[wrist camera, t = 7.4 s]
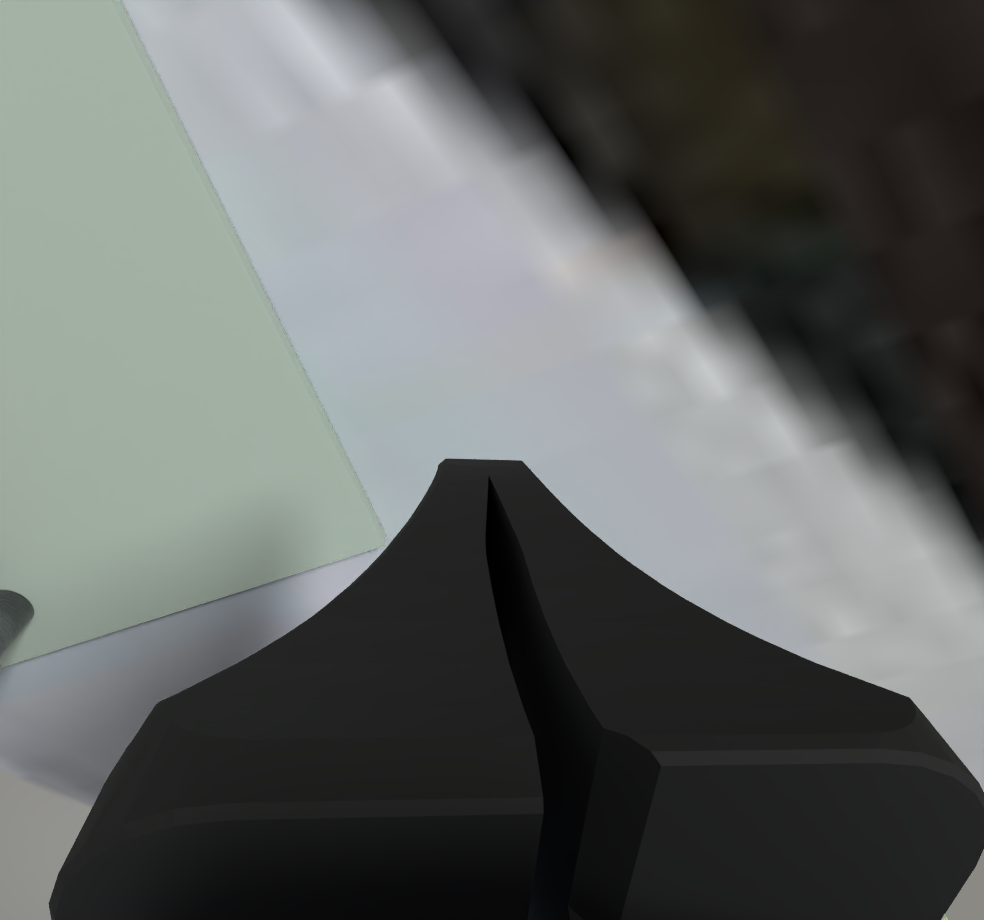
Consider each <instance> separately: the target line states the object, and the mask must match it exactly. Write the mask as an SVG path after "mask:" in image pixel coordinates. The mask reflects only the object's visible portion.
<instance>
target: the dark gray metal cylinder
mask: <svg viewBox="0 0 984 920" xmlns="http://www.w3.org/2000/svg"><path fill="white" fill-rule="evenodd" d="M33 617H34V608H33V606H32V604H31V603H30V601H29V600H28V599H27V598H25V597H24V596H23V595H21V594H19V593H17V592H14V591H10V590H0V658H1V656H2V655H3V654H4V653H5V652H6V650H7V649H8V648H9V647H10V646H11V644H12V643H13V642H14V641H15V639H16V638H17V637H18V636H19V635H20V633H21V632H22V631H23V630H24V629H25V627H26V626H27V625H28V624H29V623H30V621H31V620H32V619H33Z"/></svg>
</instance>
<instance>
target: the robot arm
mask: <svg viewBox="0 0 984 920" xmlns="http://www.w3.org/2000/svg"><path fill="white" fill-rule="evenodd" d="M983 849H984V792H983V790H982V788H981V786H980V784H979V782H978V781H977V780H976V779H975V777H974V776H973V775H972V774H971V772H970V771H969V770H968V769H967V767H966V766H965V765H964V764H963V763H962V761H961V760H960V759H959V758H958V756H957V755H956V754H955V753H954V751H953V750H952V749H951V748H950V746H949V745H948V744H947V743H946V741H945V740H944V739H943V738H942V737H941V735H940V734H939V733H938V732H937V730H936V729H935V728H934V727H933V725H932V724H931V723H930V722H929V720H928V719H927V718H926V717H925V716H924V714H923V713H922V712H921V711H920V710H919V708H918V707H917V706H916V705H915V704H914V702H913V701H912V700H911V699H910V698H909V697H906V696H904V695H901V694H898V693H895V692H893V691H890V690H887V689H885V688H882V687H879V686H876V685H874V684H871V683H868V682H866V681H863V680H860V679H858V678H855V677H852V676H849V675H847V674H844V673H841V672H839V671H836V670H833V669H831V668H828V667H825V666H822V665H820V664H817V663H814V662H812V661H810V660H807V659H805V658H802V657H800V656H798V655H796V654H793V653H791V652H789V651H787V650H785V649H782V648H780V647H778V646H776V645H773V644H771V643H769V642H767V641H764V640H762V639H760V638H758V637H756V636H754V635H752V634H750V633H747V632H745V631H743V630H741V629H739V628H737V627H735V626H733V625H731V624H729V623H727V622H725V621H724V620H722V619H720V618H718V617H716V616H714V615H713V614H711V613H709V612H707V611H706V610H704V609H702V608H700V607H698V606H697V605H695V604H693V603H691V602H689V601H688V600H686V599H684V598H682V597H681V596H679V595H678V594H676V593H674V592H673V591H671V590H669V589H668V588H666V587H665V586H663V585H662V584H660V583H659V582H657V581H656V580H654V579H653V578H651V577H650V576H648V575H647V574H646V573H644V572H643V571H641V570H640V569H638V568H637V567H635V566H634V565H632V564H631V563H630V562H628V561H627V560H626V559H624V558H623V557H622V556H620V555H619V554H618V553H617V552H615V551H614V550H613V549H612V548H611V547H609V546H608V545H607V544H606V543H605V542H603V541H602V540H601V539H600V538H599V537H597V536H596V535H595V534H594V533H593V532H591V531H590V530H589V529H588V528H587V527H586V526H585V525H584V524H583V523H582V522H580V521H579V520H578V519H577V518H576V517H575V516H574V515H573V514H572V513H571V512H570V511H569V510H568V509H567V508H566V507H565V506H564V505H563V504H562V503H561V502H560V501H559V500H558V499H557V498H556V497H555V496H554V495H553V494H552V493H551V492H550V491H549V490H548V489H547V488H546V487H545V485H544V484H543V483H542V482H541V481H540V480H539V479H538V478H537V477H536V476H535V475H534V473H533V472H532V471H531V470H530V469H529V468H528V467H527V466H526V465H525V464H524V463H523V462H522V461H515V460H477V459H445V460H444V461H442V462H441V463H440V464H439V465H438V470H437V472H436V475H435V477H434V480H433V482H432V484H431V486H430V487H429V489H428V491H427V493H426V495H425V496H424V498H423V499H422V501H421V502H420V504H419V505H418V507H417V508H416V510H415V512H414V513H413V515H412V516H411V518H410V519H409V520H408V522H407V523H406V524H405V526H404V527H403V528H402V529H401V531H400V532H399V533H398V534H397V536H396V537H395V538H394V539H393V541H392V542H391V543H390V544H389V546H388V547H387V548H386V549H385V550H384V551H383V553H382V554H381V555H380V556H379V557H378V558H377V559H376V560H375V561H374V562H373V563H372V564H371V565H370V566H369V568H368V569H367V570H365V571H364V572H363V573H362V574H361V575H360V576H359V577H358V578H357V579H356V580H355V581H354V582H353V583H352V584H351V585H350V586H349V587H347V588H346V589H345V590H344V591H343V592H342V593H340V594H339V595H338V596H337V597H336V598H334V599H333V600H332V601H331V602H330V603H329V604H327V605H326V606H325V607H324V608H323V609H321V610H320V611H319V612H317V613H316V614H315V615H314V616H312V617H311V618H309V619H308V620H307V621H305V622H304V623H302V624H301V625H299V626H298V627H296V628H295V629H293V630H292V631H290V632H289V633H287V634H286V635H284V636H283V637H281V638H279V639H278V640H276V641H274V642H273V643H271V644H270V645H268V646H266V647H265V648H263V649H261V650H260V651H258V652H256V653H255V654H253V655H251V656H249V657H248V658H246V659H244V660H242V661H241V662H239V663H237V664H235V665H233V666H231V667H229V668H227V669H225V670H223V671H221V672H219V673H217V674H215V675H213V676H211V677H209V678H207V679H205V680H203V681H201V682H200V683H198V684H196V685H194V686H192V687H190V688H188V689H186V690H184V691H182V692H180V693H178V694H176V695H174V696H171V697H169V698H167V699H165V700H163V701H161V702H159V703H157V704H156V705H155V707H154V708H153V710H152V711H151V713H150V715H149V716H148V718H147V719H146V721H145V722H144V724H143V725H142V727H141V728H140V730H139V731H138V733H137V734H136V736H135V737H134V739H133V740H132V741H131V743H130V744H129V746H128V747H127V748H126V750H125V752H124V753H123V755H122V756H121V758H120V760H119V761H118V763H117V764H116V766H115V767H114V769H113V771H112V772H111V774H110V775H109V777H108V779H107V780H106V782H105V784H104V786H103V788H102V790H101V792H100V794H99V796H98V798H97V800H96V802H95V804H94V805H93V807H92V809H91V812H90V813H89V815H88V817H87V819H86V821H85V823H84V825H83V827H82V829H81V831H80V833H79V835H78V837H77V839H76V841H75V843H74V845H73V847H72V849H71V851H70V852H69V854H68V856H67V858H66V860H65V862H64V864H63V866H62V868H61V870H60V872H59V874H58V877H57V880H56V883H55V887H54V889H53V892H52V895H51V898H50V902H49V908H50V914H51V919H52V920H941V919H942V917H943V916H944V914H945V913H946V911H947V910H948V908H949V907H950V905H951V904H952V902H953V900H954V899H955V897H956V896H957V894H958V893H959V891H960V890H961V888H962V887H963V885H964V884H965V882H966V881H967V879H968V877H969V876H970V874H971V873H972V871H973V870H974V868H975V867H976V865H977V862H978V860H979V858H980V856H981V853H982V851H983Z"/></svg>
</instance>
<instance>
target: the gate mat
mask: <svg viewBox="0 0 984 920" xmlns="http://www.w3.org/2000/svg"><path fill="white" fill-rule="evenodd" d="M385 541H386V534H385V532H384V530H383V528H382V526H381V524H380V522H379V520H378V518H377V516H376V514H375V512H374V510H373V508H372V506H371V504H370V502H369V500H368V498H367V496H366V494H365V492H364V490H363V488H362V486H361V484H360V482H359V480H358V478H357V476H356V474H355V472H354V470H353V468H352V466H351V464H350V462H349V460H348V458H347V456H346V454H345V452H344V450H343V448H342V446H341V444H340V442H339V440H338V438H337V436H336V434H335V432H334V430H333V428H332V426H331V424H330V422H329V420H328V417H327V415H326V413H325V411H324V409H323V407H322V405H321V403H320V401H319V399H318V397H317V395H316V393H315V391H314V389H313V387H312V385H311V383H310V381H309V379H308V377H307V375H306V373H305V371H304V369H303V367H302V365H301V363H300V361H299V359H298V357H297V355H296V353H295V351H294V349H293V347H292V345H291V343H290V341H289V339H288V337H287V335H286V333H285V331H284V329H283V327H282V325H281V323H280V321H279V319H278V317H277V315H276V313H275V311H274V309H273V307H272V305H271V303H270V301H269V299H268V296H267V294H266V292H265V290H264V288H263V286H262V284H261V282H260V280H259V278H258V276H257V274H256V272H255V270H254V268H253V266H252V264H251V262H250V260H249V258H248V256H247V254H246V252H245V250H244V248H243V246H242V244H241V242H240V240H239V238H238V236H237V234H236V232H235V230H234V228H233V226H232V224H231V222H230V220H229V218H228V216H227V214H226V212H225V210H224V208H223V206H222V204H221V202H220V200H219V198H218V196H217V194H216V192H215V190H214V188H213V186H212V184H211V182H210V180H209V178H208V175H207V173H206V171H205V169H204V167H203V165H202V163H201V161H200V159H199V157H198V155H197V153H196V151H195V149H194V147H193V145H192V143H191V141H190V139H189V137H188V135H187V133H186V131H185V129H184V127H183V125H182V123H181V121H180V119H179V117H178V115H177V113H176V111H175V109H174V107H173V105H172V103H171V101H170V99H169V97H168V95H167V93H166V91H165V89H164V87H163V85H162V83H161V81H160V79H159V77H158V75H157V73H156V71H155V69H154V67H153V65H152V63H151V61H150V59H149V57H148V54H147V52H146V50H145V48H144V46H143V44H142V42H141V40H140V38H139V36H138V34H137V32H136V30H135V28H134V26H133V24H132V22H131V20H130V18H129V16H128V14H127V12H126V10H125V8H124V6H123V4H122V2H121V0H0V590H10V591H14V592H17V593H19V594H21V595H23V596H24V597H25V598H27V599H28V600H29V601H30V603H31V604H32V606H33V608H34V617H33V619H32V620H31V621H30V623H29V624H28V625H27V626H26V627H25V629H24V630H23V631H22V632H21V633H20V635H19V636H18V637H17V638H16V639H15V641H14V642H13V643H12V644H11V646H10V647H9V648H8V649H7V650H6V652H5V653H4V654H3V655H2V656H1V658H0V668H3V667H6V666H9V665H12V664H15V663H18V662H21V661H25V660H28V659H31V658H34V657H37V656H40V655H43V654H47V653H50V652H53V651H56V650H59V649H62V648H65V647H69V646H72V645H75V644H78V643H81V642H84V641H87V640H91V639H94V638H97V637H100V636H103V635H106V634H109V633H112V632H116V631H119V630H122V629H125V628H128V627H131V626H134V625H138V624H141V623H144V622H147V621H150V620H153V619H156V618H160V617H163V616H166V615H169V614H172V613H175V612H178V611H182V610H185V609H188V608H191V607H194V606H197V605H200V604H204V603H207V602H210V601H213V600H216V599H219V598H222V597H225V596H229V595H232V594H235V593H238V592H241V591H244V590H247V589H251V588H254V587H257V586H260V585H263V584H266V583H269V582H273V581H276V580H279V579H282V578H285V577H288V576H291V575H295V574H298V573H301V572H304V571H307V570H310V569H313V568H317V567H320V566H323V565H326V564H329V563H332V562H335V561H338V560H342V559H345V558H348V557H351V556H354V555H357V554H360V553H364V552H367V551H370V550H373V549H376V548H379V547H382V546H385Z"/></svg>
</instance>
